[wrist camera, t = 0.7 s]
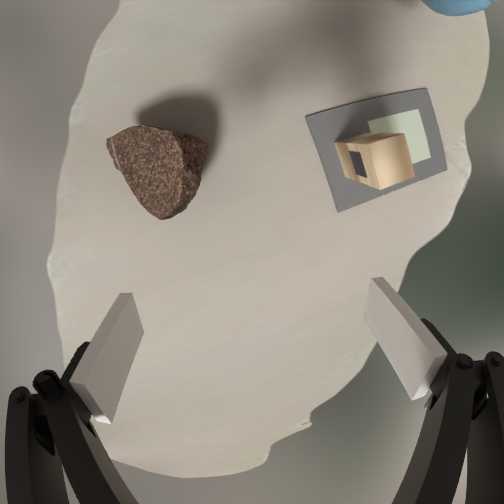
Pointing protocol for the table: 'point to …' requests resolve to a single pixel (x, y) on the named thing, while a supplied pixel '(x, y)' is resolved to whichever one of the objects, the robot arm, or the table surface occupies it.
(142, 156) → the rock
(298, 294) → the table surface
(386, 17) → the table surface
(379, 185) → the beech block
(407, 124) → the rubber mat
